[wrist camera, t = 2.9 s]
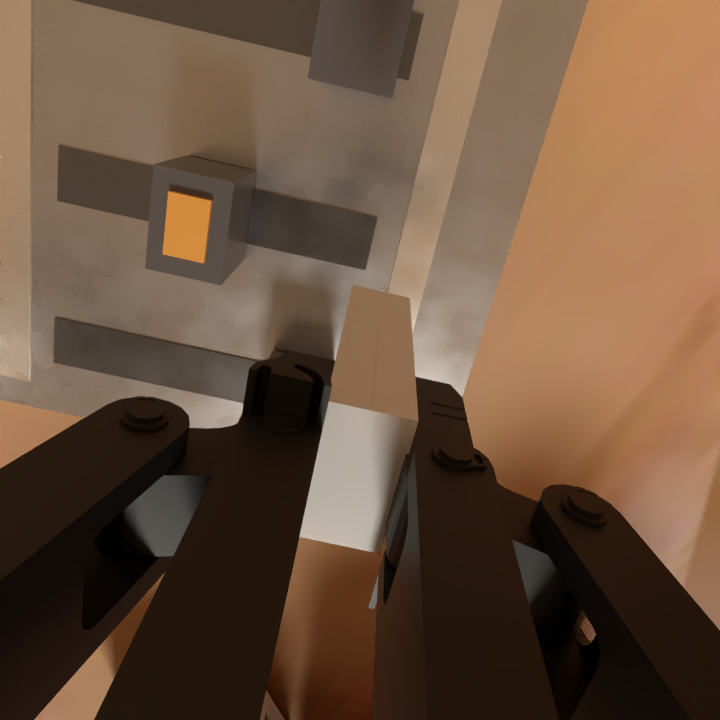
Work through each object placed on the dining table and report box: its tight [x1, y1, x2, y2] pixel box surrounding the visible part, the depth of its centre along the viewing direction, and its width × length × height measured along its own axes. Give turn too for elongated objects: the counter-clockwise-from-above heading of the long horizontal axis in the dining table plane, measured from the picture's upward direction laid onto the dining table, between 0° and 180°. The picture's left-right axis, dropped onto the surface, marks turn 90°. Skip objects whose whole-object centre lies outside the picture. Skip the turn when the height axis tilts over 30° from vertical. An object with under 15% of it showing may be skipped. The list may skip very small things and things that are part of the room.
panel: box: [0, 0, 588, 428], centre depth 28 cm, size 26×24×2 cm
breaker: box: [308, 0, 414, 99], centre depth 22 cm, size 3×4×4 cm
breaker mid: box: [145, 155, 256, 285], centre depth 25 cm, size 3×4×4 cm
